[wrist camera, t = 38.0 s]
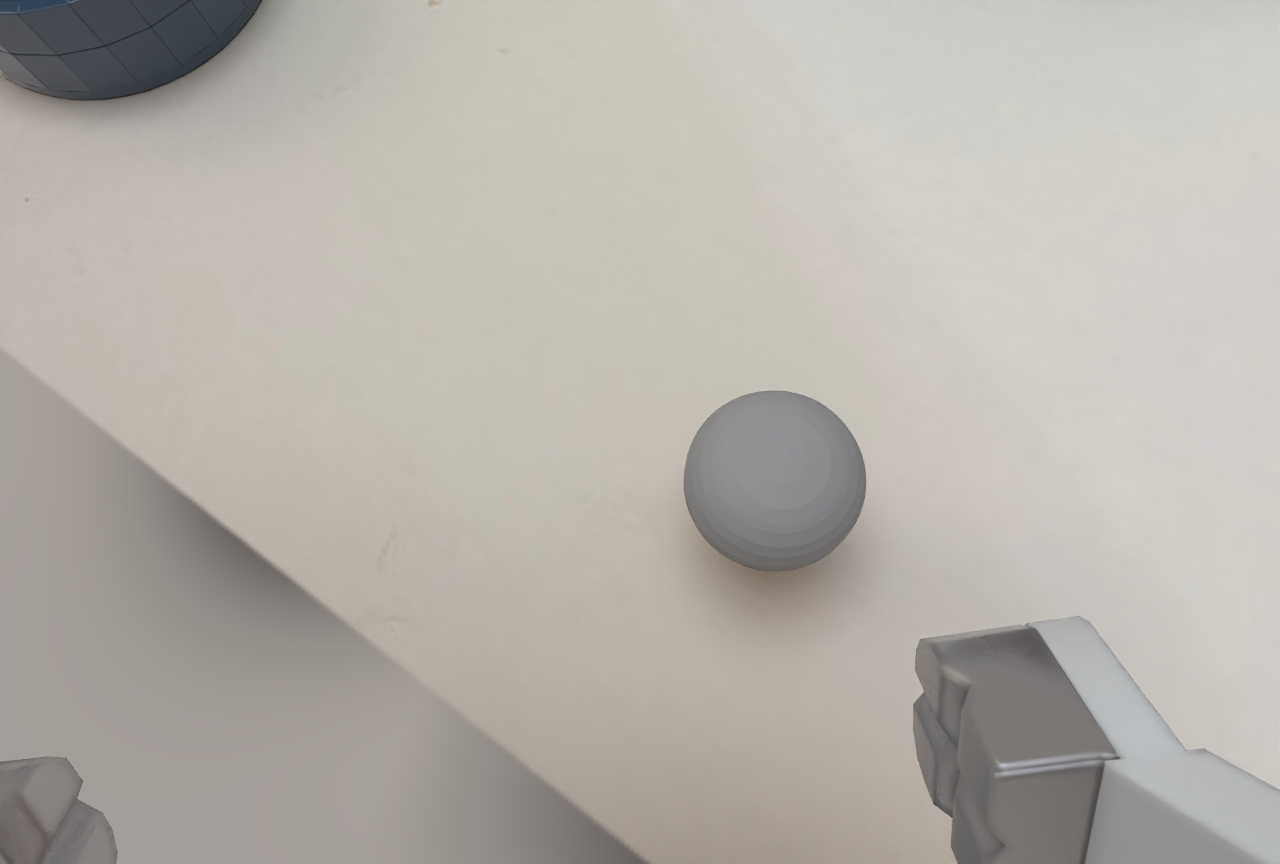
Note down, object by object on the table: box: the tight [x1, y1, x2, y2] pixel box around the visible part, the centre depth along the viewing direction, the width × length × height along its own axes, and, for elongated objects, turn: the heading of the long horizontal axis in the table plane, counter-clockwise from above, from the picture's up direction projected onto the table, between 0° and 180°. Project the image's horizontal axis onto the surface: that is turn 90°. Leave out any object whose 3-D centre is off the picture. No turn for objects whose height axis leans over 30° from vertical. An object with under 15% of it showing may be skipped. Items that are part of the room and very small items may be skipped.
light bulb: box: [684, 391, 866, 571], centre depth 30 cm, size 5×6×10 cm
